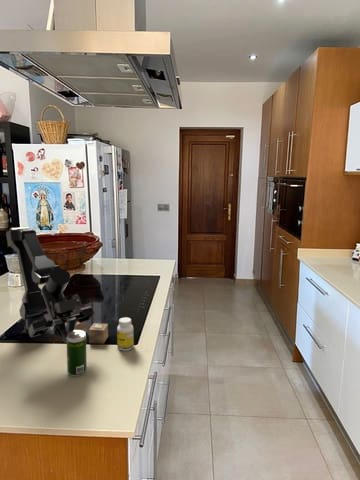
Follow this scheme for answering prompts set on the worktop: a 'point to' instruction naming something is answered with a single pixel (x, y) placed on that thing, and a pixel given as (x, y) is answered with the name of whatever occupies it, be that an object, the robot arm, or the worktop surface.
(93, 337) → the marked cube
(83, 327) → the marked cube
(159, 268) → the worktop surface
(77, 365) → the beer can
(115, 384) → the worktop surface
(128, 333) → the supplement bottle
